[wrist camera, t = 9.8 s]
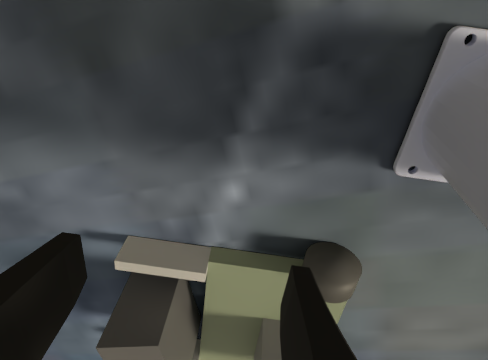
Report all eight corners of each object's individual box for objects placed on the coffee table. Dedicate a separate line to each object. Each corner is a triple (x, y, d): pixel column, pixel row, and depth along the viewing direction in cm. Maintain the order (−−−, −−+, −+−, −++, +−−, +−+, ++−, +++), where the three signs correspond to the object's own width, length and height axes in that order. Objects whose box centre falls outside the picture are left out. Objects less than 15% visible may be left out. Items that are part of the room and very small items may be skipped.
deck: (358, 246, 23) (383, 328, 18) (307, 373, 32) (314, 455, 26) (126, 213, 23) (83, 285, 18) (136, 348, 32) (108, 425, 26)
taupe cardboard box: (182, 265, 26) (158, 346, 20) (201, 317, 29) (184, 399, 23) (133, 268, 26) (95, 348, 21) (156, 319, 29) (128, 400, 24)
